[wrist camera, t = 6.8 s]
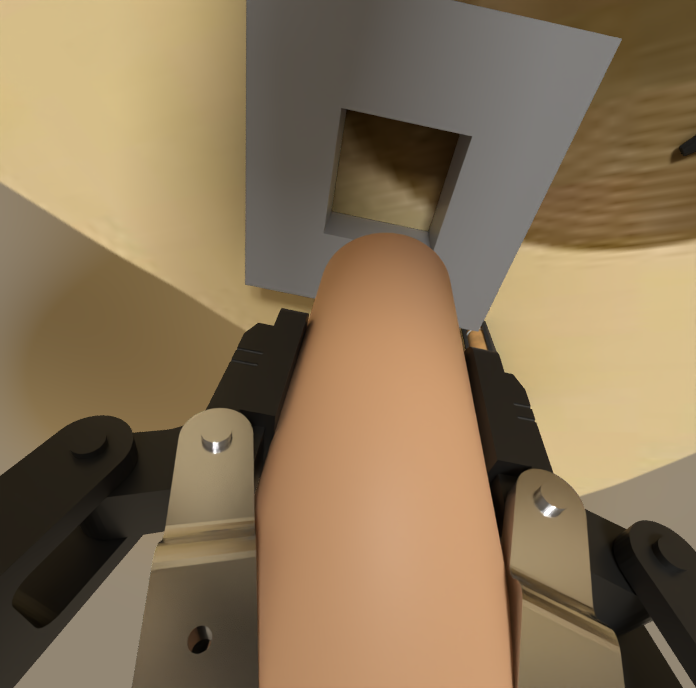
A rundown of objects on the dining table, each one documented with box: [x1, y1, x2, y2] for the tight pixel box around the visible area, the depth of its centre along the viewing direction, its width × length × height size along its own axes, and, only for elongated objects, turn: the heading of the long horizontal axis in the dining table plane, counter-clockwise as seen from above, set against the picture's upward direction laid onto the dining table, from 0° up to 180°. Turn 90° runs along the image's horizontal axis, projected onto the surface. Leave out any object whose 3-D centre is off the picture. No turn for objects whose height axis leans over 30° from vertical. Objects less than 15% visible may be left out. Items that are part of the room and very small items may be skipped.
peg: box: [207, 233, 514, 688], centre depth 9 cm, size 4×4×11 cm
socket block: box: [245, 0, 622, 332], centre depth 23 cm, size 16×16×4 cm
